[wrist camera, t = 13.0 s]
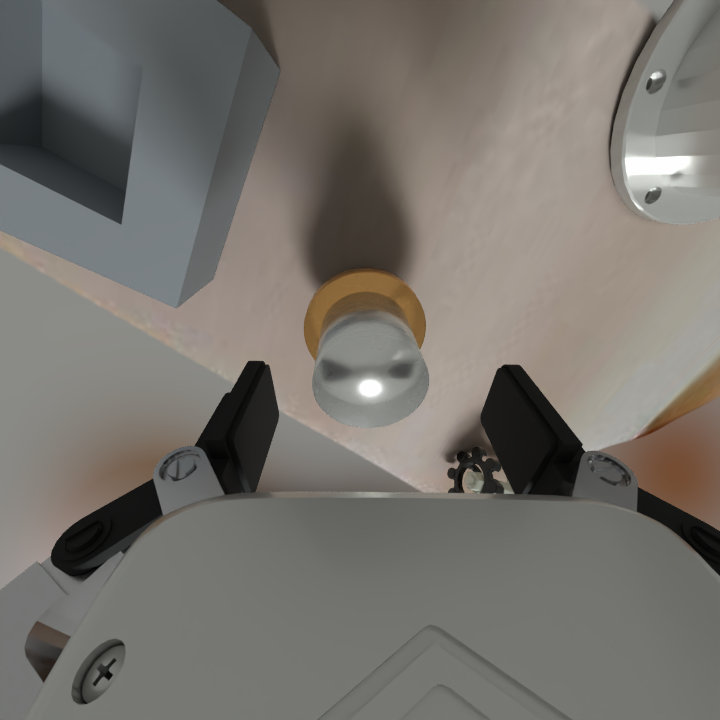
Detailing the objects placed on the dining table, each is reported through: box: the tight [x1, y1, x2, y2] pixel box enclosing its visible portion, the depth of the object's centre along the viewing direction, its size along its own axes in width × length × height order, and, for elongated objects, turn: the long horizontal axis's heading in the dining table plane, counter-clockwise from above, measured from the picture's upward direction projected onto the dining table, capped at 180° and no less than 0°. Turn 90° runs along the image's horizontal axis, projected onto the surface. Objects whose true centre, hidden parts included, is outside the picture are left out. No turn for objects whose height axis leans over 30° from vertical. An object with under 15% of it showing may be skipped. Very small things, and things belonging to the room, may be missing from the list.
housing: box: [0, 0, 280, 308], centre depth 13 cm, size 12×12×5 cm
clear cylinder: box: [304, 268, 429, 428], centre depth 17 cm, size 7×7×10 cm
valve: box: [447, 447, 514, 494], centre depth 30 cm, size 7×7×12 cm
